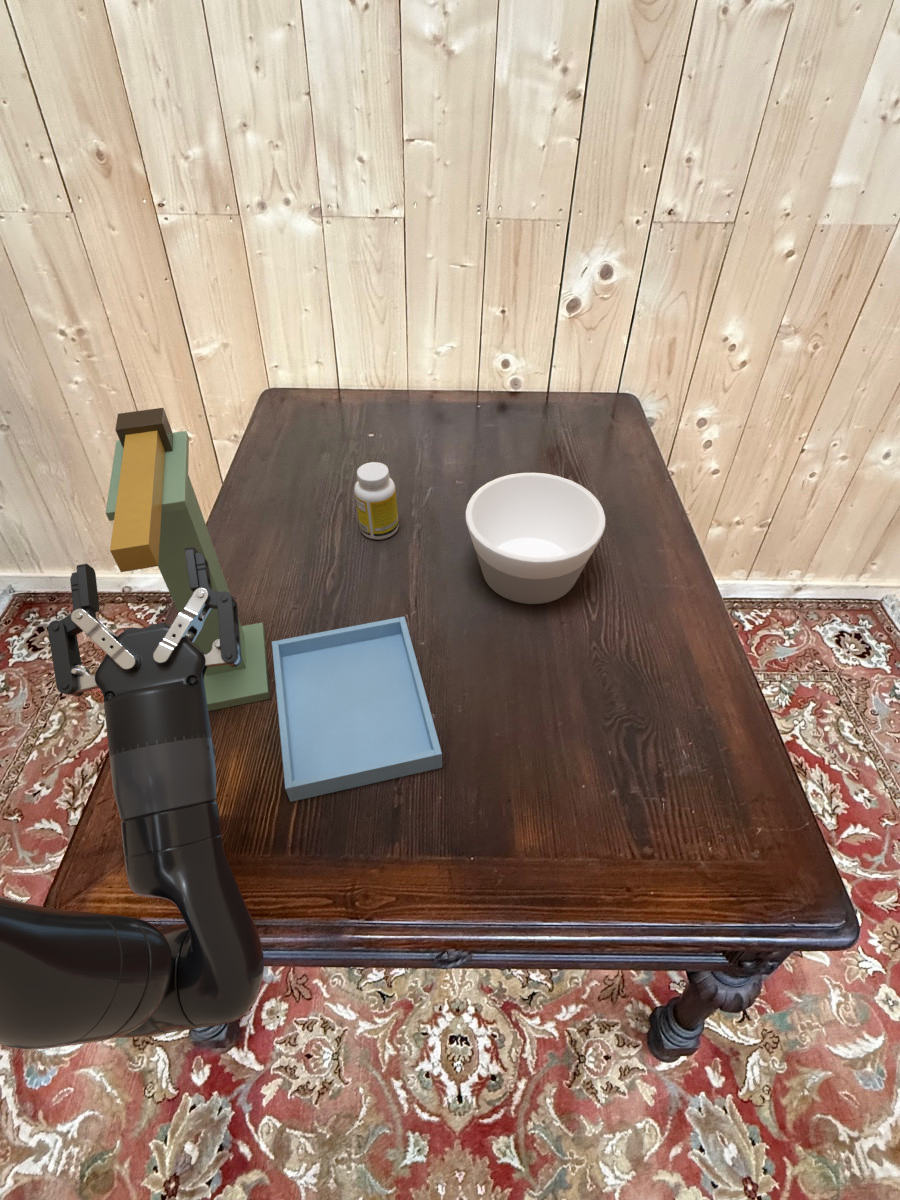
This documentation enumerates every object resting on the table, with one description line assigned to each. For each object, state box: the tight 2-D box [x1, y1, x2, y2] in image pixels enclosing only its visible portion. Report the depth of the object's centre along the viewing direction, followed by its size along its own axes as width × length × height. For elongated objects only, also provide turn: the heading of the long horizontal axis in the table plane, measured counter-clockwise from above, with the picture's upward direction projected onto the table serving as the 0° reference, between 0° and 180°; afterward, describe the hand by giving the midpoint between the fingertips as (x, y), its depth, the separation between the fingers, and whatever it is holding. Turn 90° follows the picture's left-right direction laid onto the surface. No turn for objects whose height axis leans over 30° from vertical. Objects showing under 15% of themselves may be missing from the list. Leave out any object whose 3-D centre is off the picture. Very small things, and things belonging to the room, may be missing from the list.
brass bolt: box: [109, 407, 174, 573], centre depth 63 cm, size 4×20×3 cm, turn 14°
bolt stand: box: [105, 430, 271, 712], centre depth 79 cm, size 10×12×32 cm
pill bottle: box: [353, 461, 400, 541], centre depth 106 cm, size 6×6×11 cm
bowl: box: [465, 472, 607, 605], centre depth 99 cm, size 19×19×11 cm
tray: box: [271, 616, 443, 803], centre depth 85 cm, size 18×22×3 cm
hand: (139, 558), depth 58 cm, fingers open, 8 cm apart
